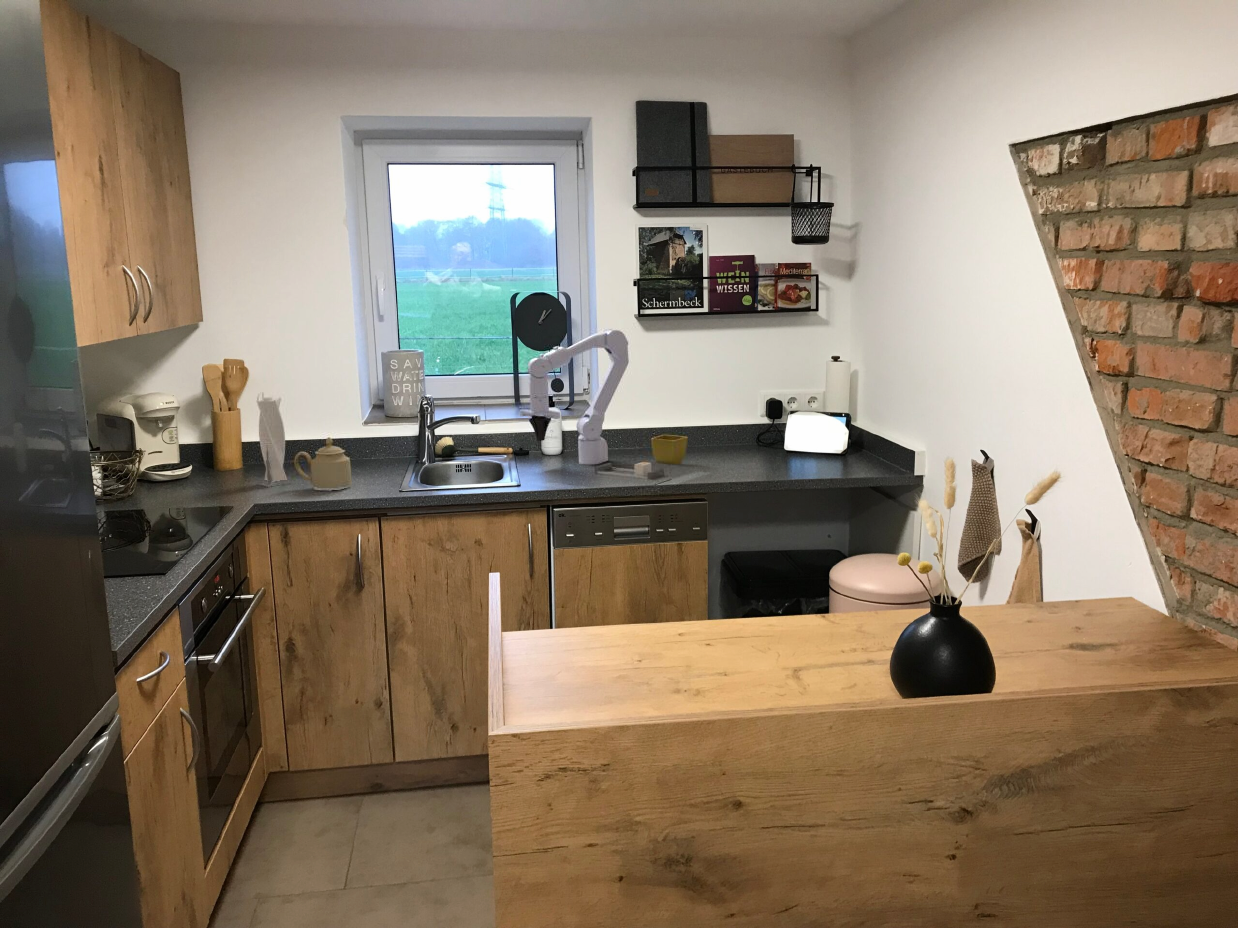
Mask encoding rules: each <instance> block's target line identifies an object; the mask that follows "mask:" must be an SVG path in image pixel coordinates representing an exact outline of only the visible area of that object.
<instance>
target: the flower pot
mask: <svg viewBox="0 0 1238 928" xmlns="http://www.w3.org/2000/svg"><path fill="white" fill-rule="evenodd" d="M688 439H689V437H688V436H683V435H673V434H672V435H671V434H662V435H658V436H656V437H652V438H651V448H652V455H653V457H654V459H655V461H656V462H657V463H661V464H669V465H677V466H678V465H681V463H682V461H683V460H684V458H685V456H686V452H687V446H688Z"/></svg>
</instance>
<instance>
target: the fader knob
mask: <svg viewBox="0 0 1238 928" xmlns="http://www.w3.org/2000/svg"><path fill="white" fill-rule="evenodd" d="M633 466H634V467H633V468H634V469H633V470H635V472H634V475H639V476H647V473H649V472H652V462H648V461H645V462H643V461H642V462H638V463H634V464H633Z"/></svg>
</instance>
